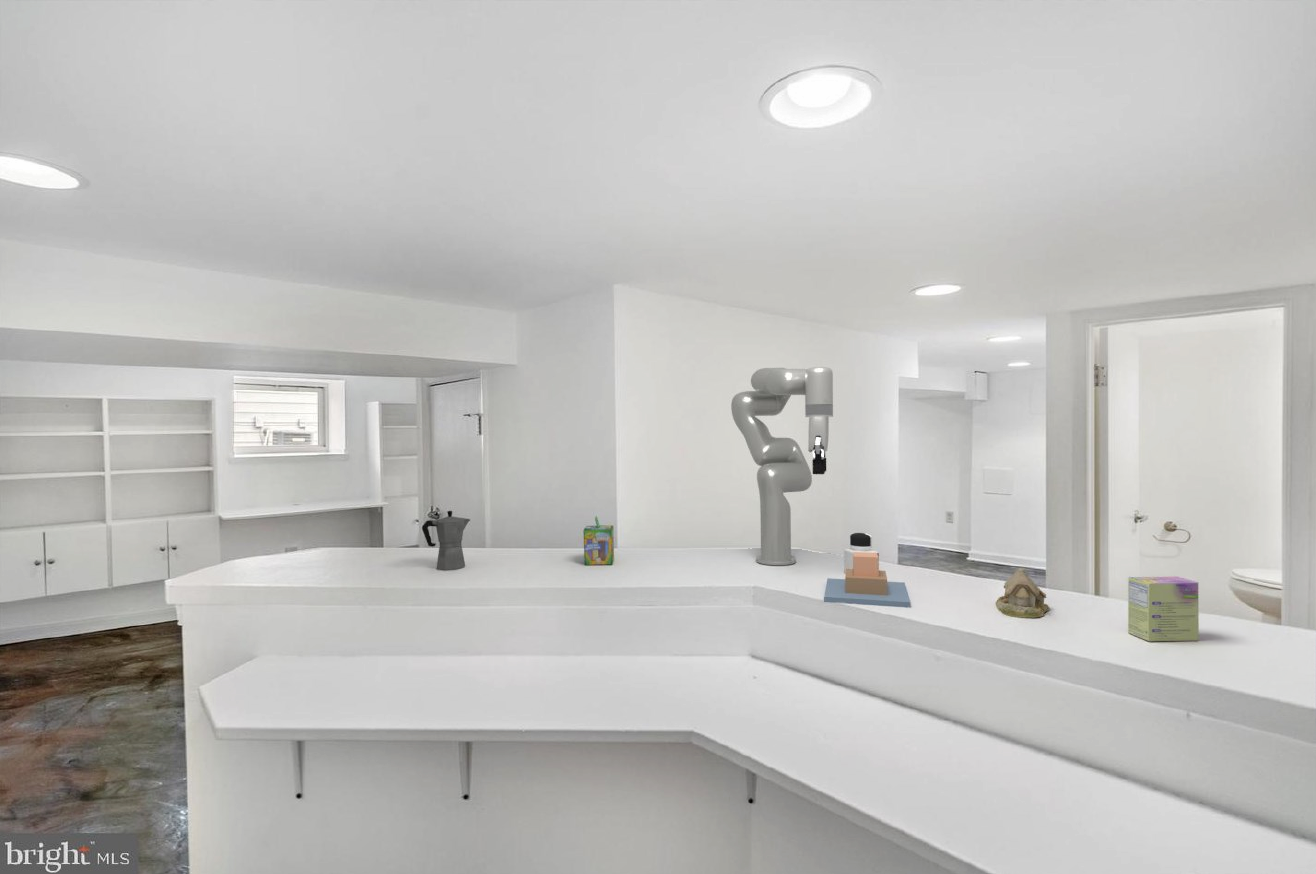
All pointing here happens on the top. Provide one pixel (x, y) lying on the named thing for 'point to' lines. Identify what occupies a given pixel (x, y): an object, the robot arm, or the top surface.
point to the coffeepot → (448, 541)
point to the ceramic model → (1022, 597)
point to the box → (1163, 608)
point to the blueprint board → (888, 600)
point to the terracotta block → (865, 564)
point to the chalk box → (598, 544)
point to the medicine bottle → (857, 548)
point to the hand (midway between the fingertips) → (819, 472)
